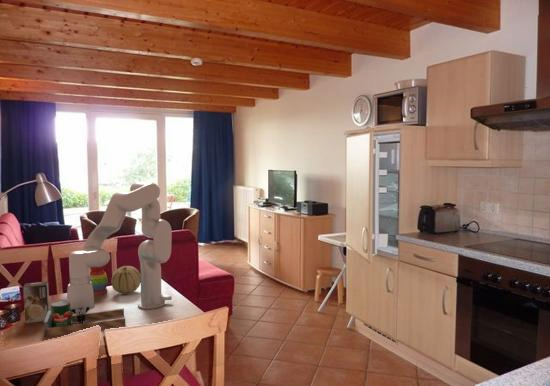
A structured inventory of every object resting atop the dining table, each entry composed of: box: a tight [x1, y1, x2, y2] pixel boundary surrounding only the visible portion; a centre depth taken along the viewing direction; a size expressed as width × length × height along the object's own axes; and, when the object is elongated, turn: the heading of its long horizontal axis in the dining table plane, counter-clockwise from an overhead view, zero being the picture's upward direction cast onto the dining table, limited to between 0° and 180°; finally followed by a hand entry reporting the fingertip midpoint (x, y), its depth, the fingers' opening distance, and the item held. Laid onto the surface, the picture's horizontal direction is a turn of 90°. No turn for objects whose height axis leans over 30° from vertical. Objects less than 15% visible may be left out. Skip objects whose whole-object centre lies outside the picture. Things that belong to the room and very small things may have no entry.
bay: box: [43, 308, 126, 338], centre depth 172 cm, size 30×13×6 cm, turn 113°
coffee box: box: [22, 280, 51, 324], centre depth 178 cm, size 9×6×16 cm
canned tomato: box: [50, 299, 74, 328], centre depth 168 cm, size 8×8×11 cm
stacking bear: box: [89, 265, 109, 297], centre depth 215 cm, size 11×10×18 cm
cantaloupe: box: [110, 265, 141, 295], centre depth 215 cm, size 15×15×15 cm
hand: (81, 323), depth 171 cm, fingers closed
